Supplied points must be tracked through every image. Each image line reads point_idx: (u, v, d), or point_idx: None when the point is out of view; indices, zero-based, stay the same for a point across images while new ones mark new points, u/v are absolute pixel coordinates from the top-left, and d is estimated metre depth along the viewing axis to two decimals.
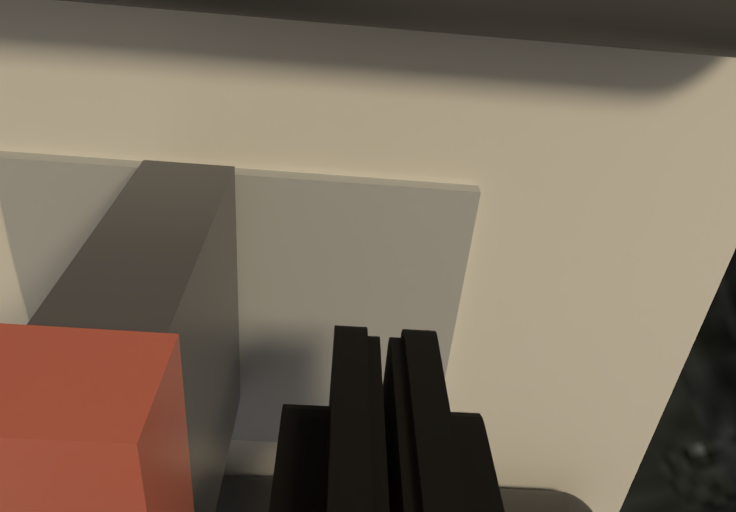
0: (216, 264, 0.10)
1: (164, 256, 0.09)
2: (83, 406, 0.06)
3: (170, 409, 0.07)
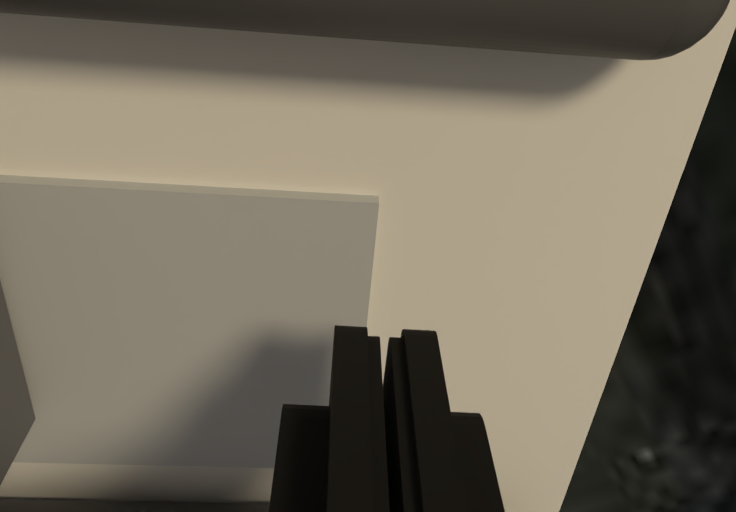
0: None
1: None
2: None
3: None
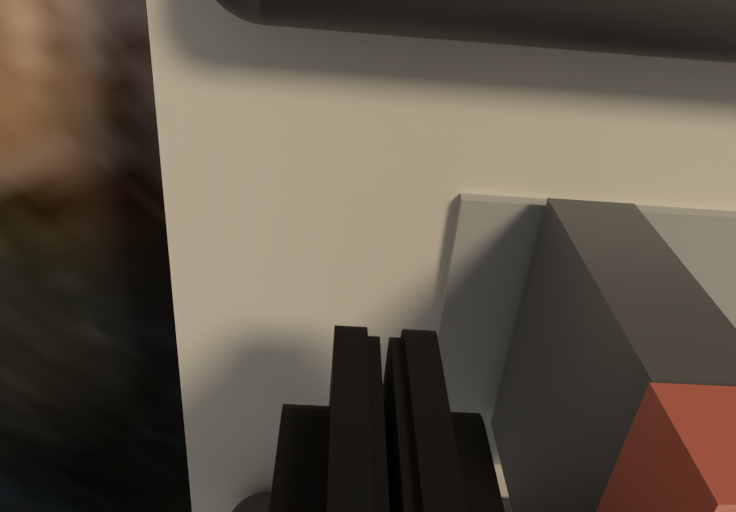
0: None
1: (687, 304, 0.09)
2: None
3: None
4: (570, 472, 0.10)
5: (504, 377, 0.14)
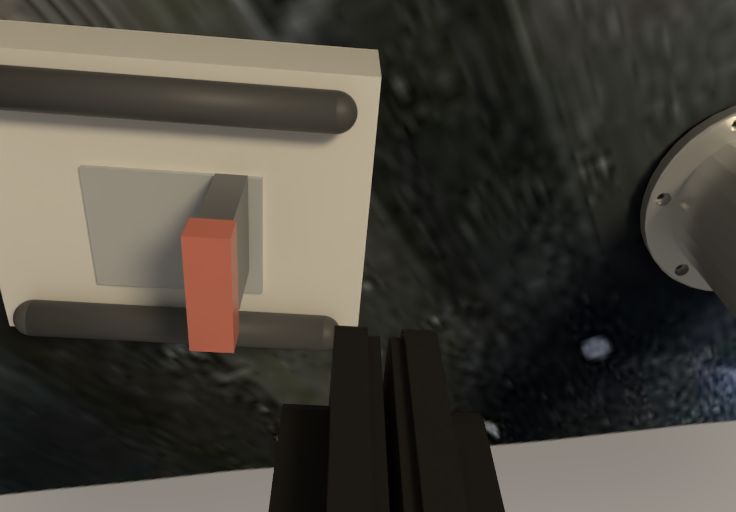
0: (242, 208, 0.31)
1: (228, 203, 0.30)
2: (216, 232, 0.27)
3: (234, 239, 0.28)
4: None
5: None
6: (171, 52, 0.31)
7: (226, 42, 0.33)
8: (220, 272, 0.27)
